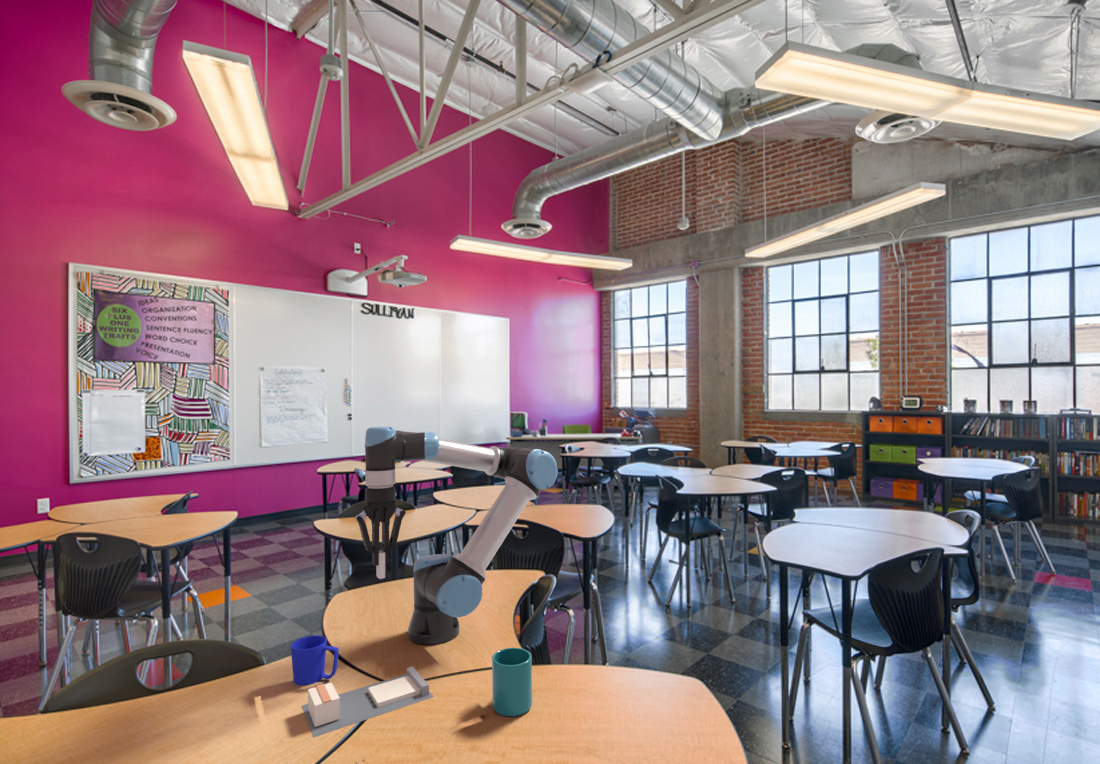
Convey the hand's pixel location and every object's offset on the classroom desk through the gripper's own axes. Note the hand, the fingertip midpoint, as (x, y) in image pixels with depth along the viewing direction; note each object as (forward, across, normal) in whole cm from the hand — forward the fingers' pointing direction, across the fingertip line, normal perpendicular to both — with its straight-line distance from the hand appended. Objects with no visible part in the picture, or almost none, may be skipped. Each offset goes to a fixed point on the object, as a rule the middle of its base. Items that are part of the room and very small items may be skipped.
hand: (380, 576), depth 139 cm
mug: (+25, +15, -4) cm, 29 cm away
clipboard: (+24, +7, +14) cm, 29 cm away
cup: (+25, -21, +32) cm, 46 cm away
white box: (+23, +17, +14) cm, 32 cm away
